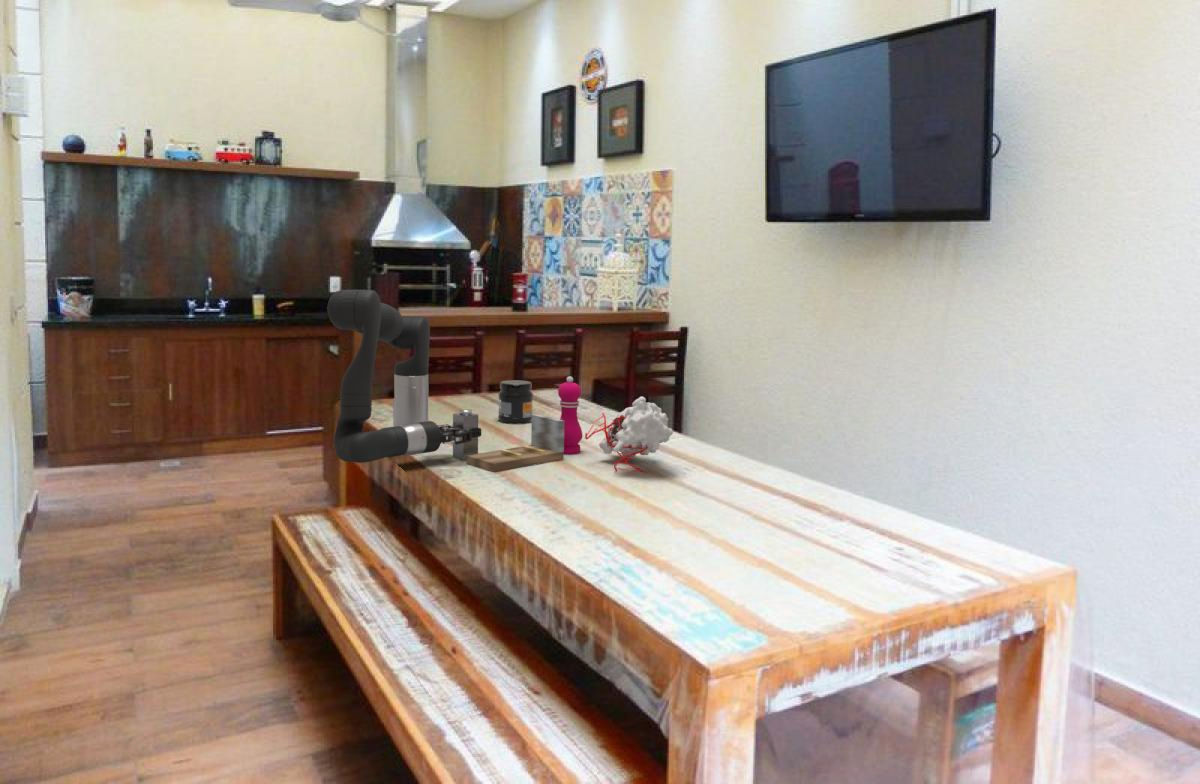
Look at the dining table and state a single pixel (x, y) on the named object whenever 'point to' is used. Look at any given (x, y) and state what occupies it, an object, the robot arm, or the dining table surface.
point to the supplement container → (515, 401)
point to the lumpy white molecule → (635, 431)
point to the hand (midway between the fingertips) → (474, 430)
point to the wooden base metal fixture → (527, 448)
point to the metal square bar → (465, 422)
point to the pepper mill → (570, 415)
